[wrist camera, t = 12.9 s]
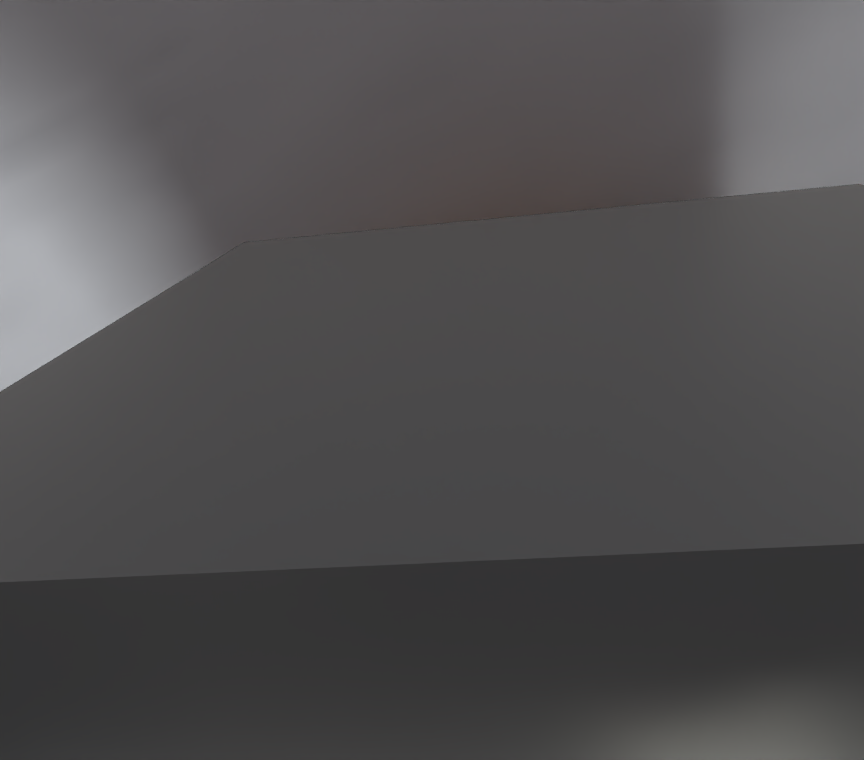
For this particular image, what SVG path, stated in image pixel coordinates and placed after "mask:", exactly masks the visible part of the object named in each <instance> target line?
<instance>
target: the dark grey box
mask: <svg viewBox="0 0 864 760" xmlns="http://www.w3.org/2000/svg"><path fill="white" fill-rule="evenodd" d="M0 760H864V185H861V184H853V185H843V186H832V187H822V188H811V189H801V190H790V191H780V192H769V193H758V194H748V195H737V196H727V197H716V198H706V199H695V200H685V201H674V202H664V203H653V204H642V205H632V206H621V207H611V208H600V209H590V210H579V211H569V212H558V213H548V214H537V215H526V216H516V217H505V218H495V219H484V220H474V221H463V222H453V223H442V224H432V225H421V226H410V227H400V228H389V229H379V230H368V231H358V232H347V233H337V234H326V235H315V236H305V237H294V238H284V239H273V240H263V241H252V242H244V243H242V244H241V245H239V246H237V247H236V248H234V249H232V250H231V251H229V252H228V253H226V254H224V255H223V256H221V257H219V258H218V259H216V260H214V261H213V262H211V263H210V264H208V265H206V266H205V267H203V268H201V269H200V270H198V271H197V272H195V273H193V274H192V275H190V276H188V277H187V278H185V279H183V280H182V281H180V282H179V283H177V284H175V285H174V286H172V287H170V288H169V289H167V290H165V291H164V292H162V293H161V294H159V295H157V296H156V297H154V298H152V299H151V300H149V301H148V302H146V303H144V304H143V305H141V306H139V307H138V308H136V309H134V310H133V311H131V312H130V313H128V314H126V315H125V316H123V317H121V318H120V319H118V320H117V321H115V322H113V323H112V324H110V325H108V326H107V327H105V328H103V329H102V330H100V331H99V332H97V333H95V334H94V335H92V336H90V337H89V338H87V339H86V340H84V341H82V342H81V343H79V344H77V345H76V346H74V347H72V348H71V349H69V350H68V351H66V352H64V353H63V354H61V355H59V356H58V357H56V358H54V359H53V360H51V361H50V362H48V363H46V364H45V365H43V366H41V367H40V368H38V369H37V370H35V371H33V372H32V373H30V374H28V375H27V376H25V377H23V378H22V379H20V380H19V381H17V382H15V383H14V384H12V385H10V386H9V387H7V388H6V389H4V390H2V391H1V392H0Z"/></svg>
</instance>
